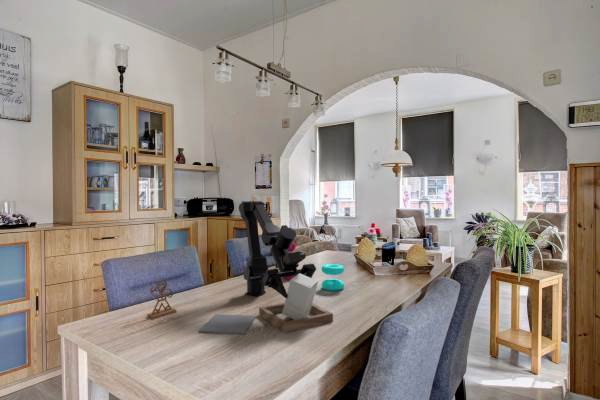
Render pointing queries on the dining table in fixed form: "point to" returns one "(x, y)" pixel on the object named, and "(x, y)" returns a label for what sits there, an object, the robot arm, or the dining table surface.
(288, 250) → the pepper mill
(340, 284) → the donuts
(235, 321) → the slate mat
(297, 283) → the supplement box
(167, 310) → the brown openwork stand
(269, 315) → the walnut pocket
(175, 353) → the dining table surface
